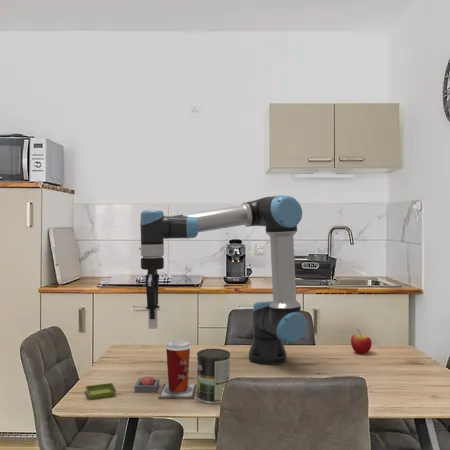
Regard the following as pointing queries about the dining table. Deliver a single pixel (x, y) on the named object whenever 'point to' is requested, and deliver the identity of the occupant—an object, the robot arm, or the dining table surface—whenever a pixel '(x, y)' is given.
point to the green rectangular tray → (101, 390)
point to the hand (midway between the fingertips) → (153, 328)
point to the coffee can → (212, 374)
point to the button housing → (147, 386)
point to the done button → (147, 381)
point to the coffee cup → (178, 364)
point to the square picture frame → (177, 393)
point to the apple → (361, 343)
